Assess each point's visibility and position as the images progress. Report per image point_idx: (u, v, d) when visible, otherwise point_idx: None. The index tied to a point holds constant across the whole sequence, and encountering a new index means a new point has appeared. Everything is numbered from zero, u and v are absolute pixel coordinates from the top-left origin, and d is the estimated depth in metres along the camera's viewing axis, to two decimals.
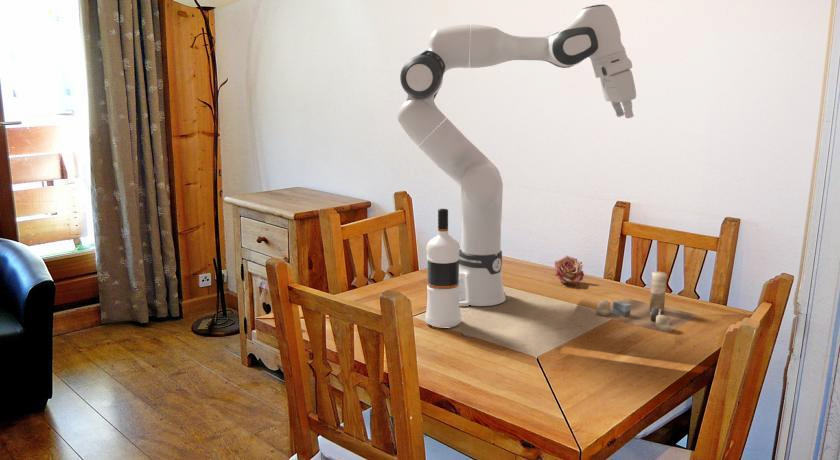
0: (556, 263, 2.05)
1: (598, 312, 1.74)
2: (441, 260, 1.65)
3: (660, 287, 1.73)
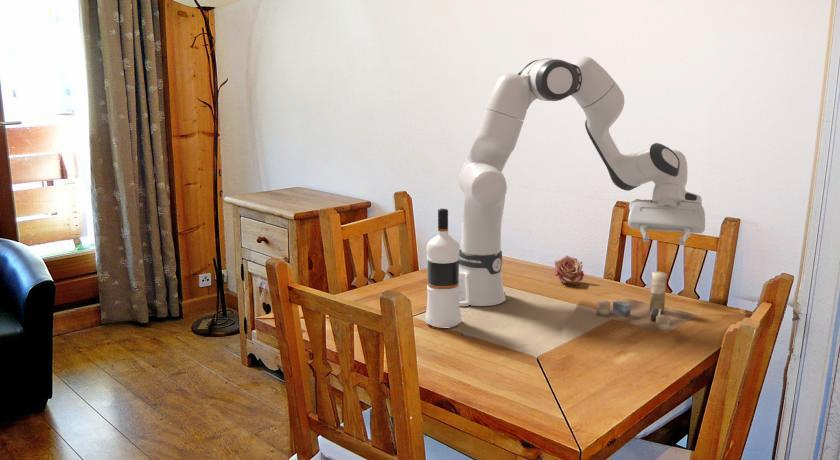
0: (556, 263, 2.05)
1: (598, 312, 1.74)
2: (441, 260, 1.65)
3: (660, 287, 1.73)
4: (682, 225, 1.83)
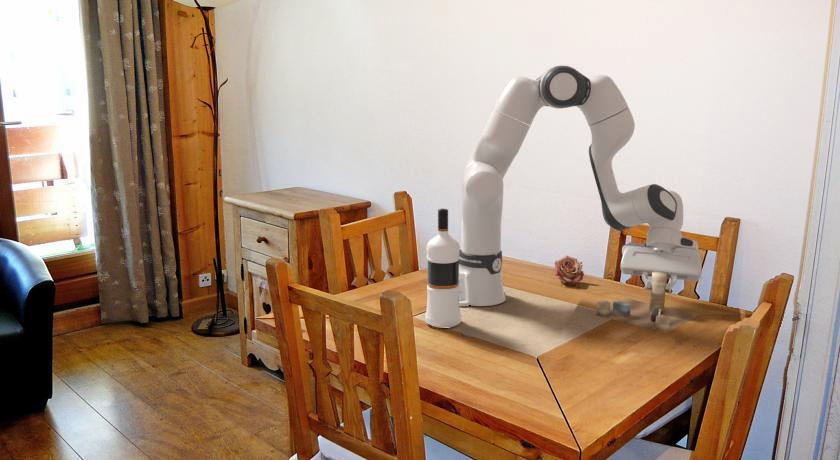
0: (556, 263, 2.05)
1: (598, 312, 1.74)
2: (441, 260, 1.65)
3: (660, 287, 1.73)
4: (677, 272, 1.74)
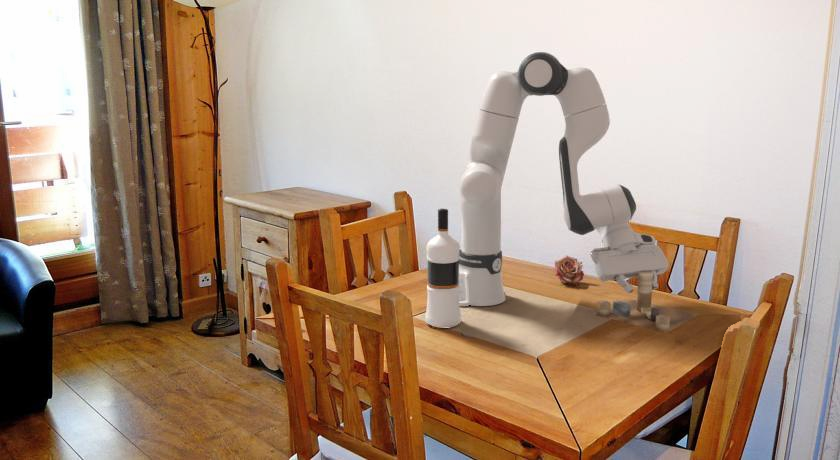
0: (556, 263, 2.05)
1: (598, 312, 1.74)
2: (441, 260, 1.65)
3: (649, 286, 1.74)
4: (652, 269, 1.77)
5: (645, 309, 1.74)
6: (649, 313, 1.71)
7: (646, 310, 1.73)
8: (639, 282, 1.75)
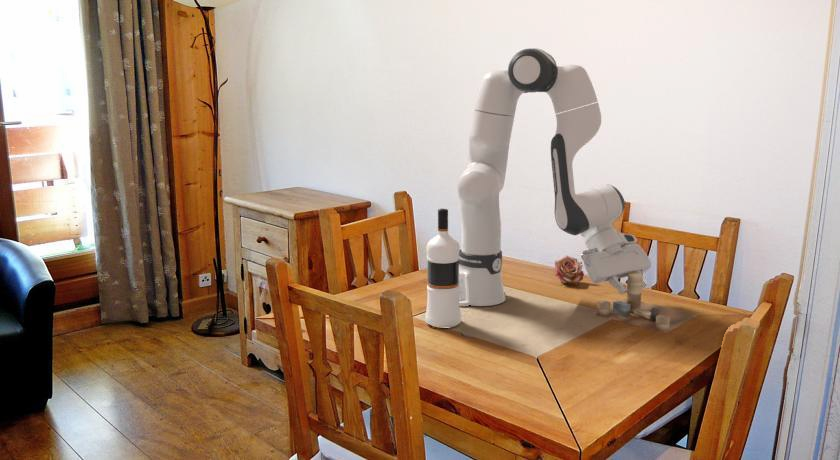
0: (556, 263, 2.05)
1: (598, 312, 1.74)
2: (441, 260, 1.65)
3: (640, 286, 1.73)
4: (638, 268, 1.77)
5: (639, 310, 1.73)
6: (647, 314, 1.70)
7: (642, 311, 1.72)
8: (630, 283, 1.73)
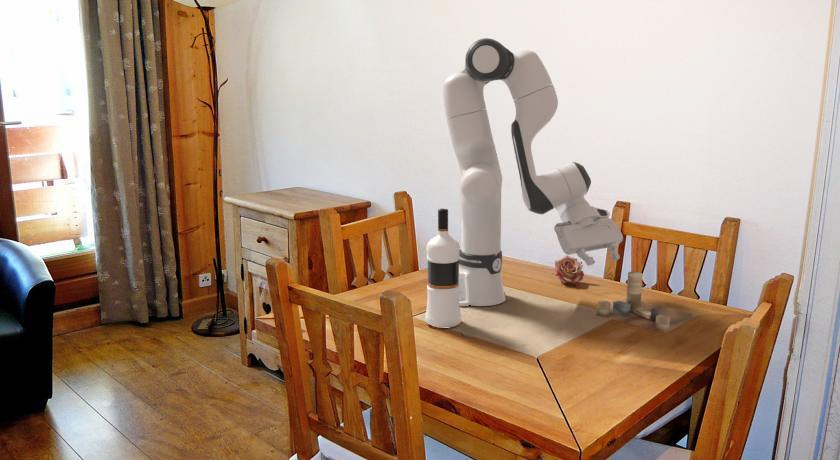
0: (556, 263, 2.05)
1: (598, 312, 1.74)
2: (441, 260, 1.65)
3: (640, 286, 1.73)
4: (610, 241, 1.84)
5: (639, 310, 1.73)
6: (647, 314, 1.70)
7: (642, 311, 1.72)
8: (630, 283, 1.73)
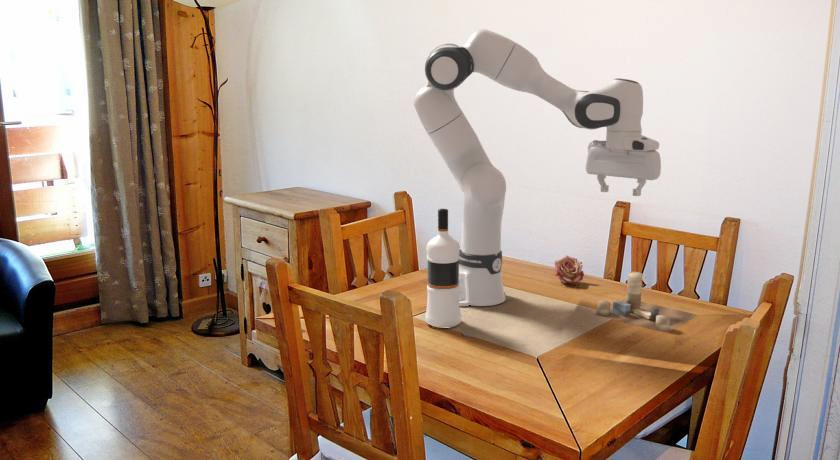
0: (556, 263, 2.05)
1: (598, 312, 1.74)
2: (441, 260, 1.65)
3: (640, 286, 1.73)
4: (633, 177, 1.75)
5: (639, 310, 1.73)
6: (647, 314, 1.70)
7: (642, 311, 1.72)
8: (630, 283, 1.73)
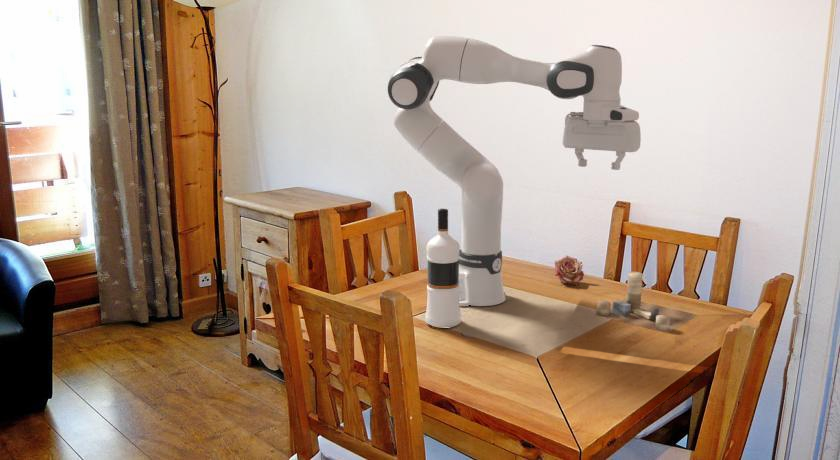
0: (556, 263, 2.05)
1: (598, 312, 1.74)
2: (441, 260, 1.65)
3: (640, 286, 1.73)
4: (612, 150, 1.65)
5: (639, 310, 1.73)
6: (647, 314, 1.70)
7: (642, 311, 1.72)
8: (630, 283, 1.73)
